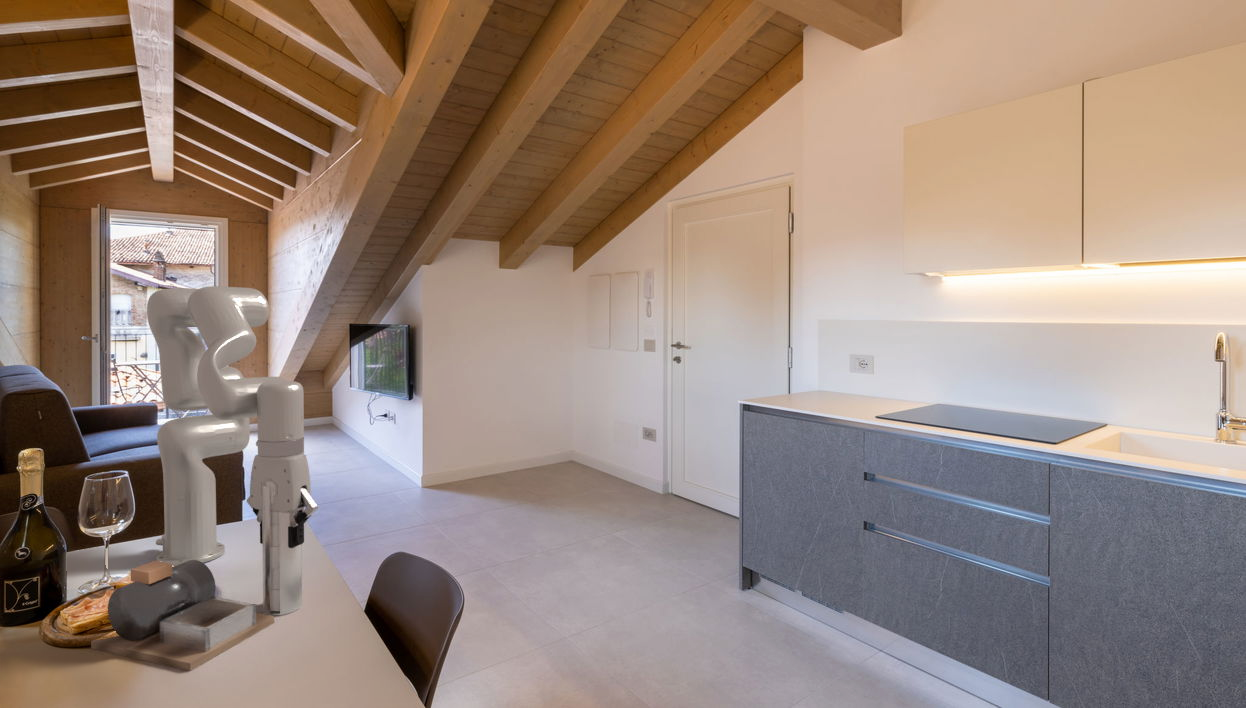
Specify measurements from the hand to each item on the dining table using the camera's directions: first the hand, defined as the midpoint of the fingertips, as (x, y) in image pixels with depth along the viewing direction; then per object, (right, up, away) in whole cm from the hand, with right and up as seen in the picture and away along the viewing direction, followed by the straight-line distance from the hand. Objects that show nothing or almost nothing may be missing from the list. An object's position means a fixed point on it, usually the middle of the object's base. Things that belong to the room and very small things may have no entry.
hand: (282, 542), depth 117 cm
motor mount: (-11, -13, -10) cm, 20 cm away
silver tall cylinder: (0, -13, +1) cm, 13 cm away
